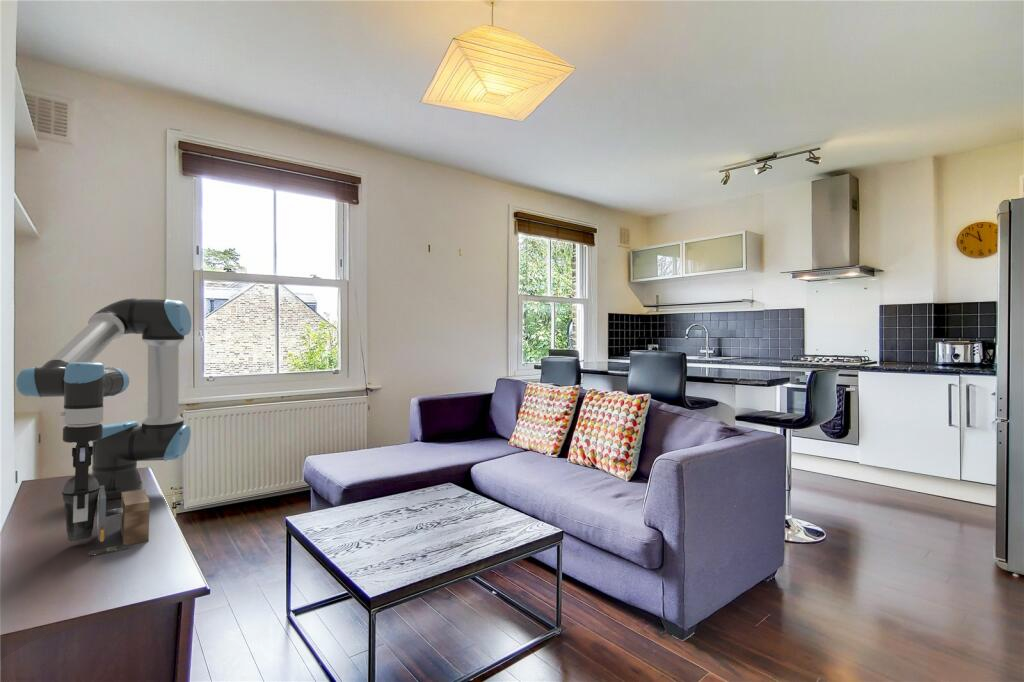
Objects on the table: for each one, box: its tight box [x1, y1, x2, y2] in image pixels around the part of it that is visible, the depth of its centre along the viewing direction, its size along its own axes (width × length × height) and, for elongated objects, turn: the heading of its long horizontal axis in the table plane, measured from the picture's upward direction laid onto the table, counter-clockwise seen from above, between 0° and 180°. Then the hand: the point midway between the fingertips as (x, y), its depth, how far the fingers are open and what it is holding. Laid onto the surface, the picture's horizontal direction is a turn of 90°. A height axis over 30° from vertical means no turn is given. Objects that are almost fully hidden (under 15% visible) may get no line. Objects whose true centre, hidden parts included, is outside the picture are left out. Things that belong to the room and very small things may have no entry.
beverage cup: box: [61, 473, 100, 542], centre depth 125 cm, size 7×7×20 cm
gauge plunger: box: [96, 485, 123, 543], centre depth 129 cm, size 10×16×10 cm, turn 41°
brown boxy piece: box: [88, 488, 151, 557], centre depth 128 cm, size 12×17×10 cm
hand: (80, 516), depth 125 cm, fingers closed on beverage cup, 7 cm apart
